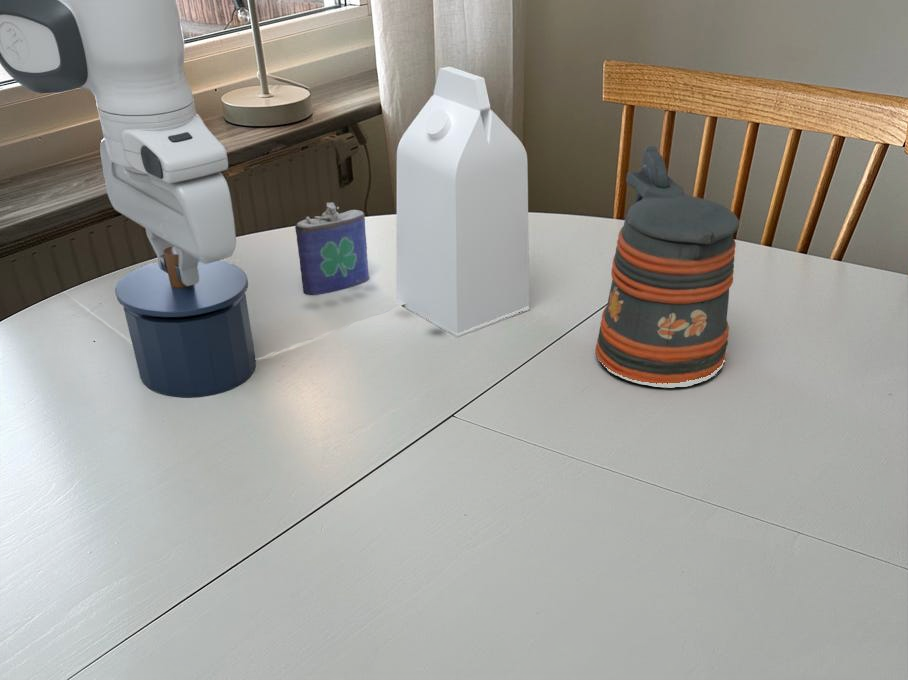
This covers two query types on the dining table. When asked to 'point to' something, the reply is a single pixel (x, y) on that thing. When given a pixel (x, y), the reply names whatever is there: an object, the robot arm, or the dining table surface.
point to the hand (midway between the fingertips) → (180, 277)
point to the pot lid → (180, 288)
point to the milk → (461, 209)
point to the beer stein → (668, 282)
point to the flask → (332, 251)
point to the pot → (194, 350)
